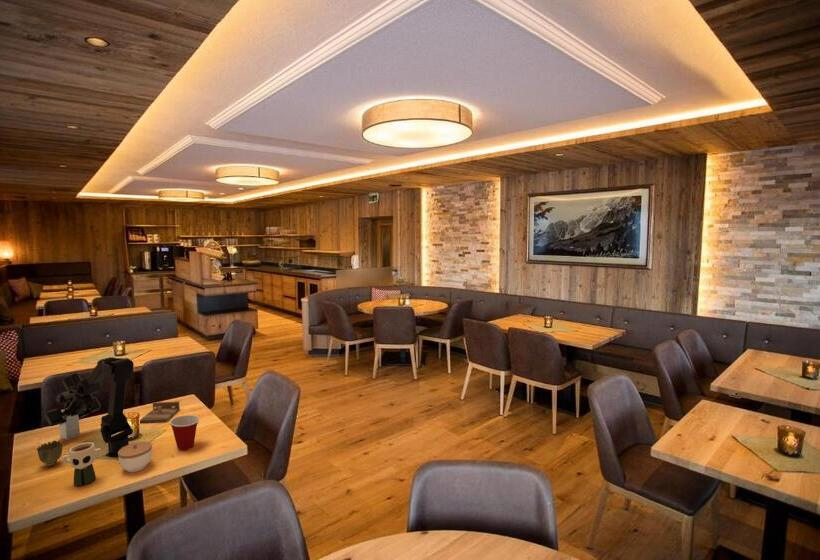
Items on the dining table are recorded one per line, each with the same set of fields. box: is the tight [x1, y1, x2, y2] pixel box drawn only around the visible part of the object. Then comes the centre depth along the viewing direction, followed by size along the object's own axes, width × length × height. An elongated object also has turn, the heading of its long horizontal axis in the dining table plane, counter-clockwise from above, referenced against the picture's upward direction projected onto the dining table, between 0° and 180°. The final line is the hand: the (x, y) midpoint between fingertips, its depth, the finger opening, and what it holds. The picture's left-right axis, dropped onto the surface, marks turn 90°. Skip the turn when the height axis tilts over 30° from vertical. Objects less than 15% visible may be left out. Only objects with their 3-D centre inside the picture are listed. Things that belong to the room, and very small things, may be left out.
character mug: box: [62, 441, 103, 486], centre depth 148 cm, size 11×7×13 cm, turn 119°
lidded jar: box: [118, 441, 153, 473], centre depth 157 cm, size 11×11×9 cm
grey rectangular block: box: [58, 408, 81, 441], centre depth 182 cm, size 5×5×12 cm
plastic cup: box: [169, 414, 200, 451], centre depth 172 cm, size 11×11×12 cm
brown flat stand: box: [140, 401, 181, 425], centre depth 202 cm, size 14×12×5 cm
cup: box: [36, 440, 63, 468], centre depth 160 cm, size 8×7×8 cm
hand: (67, 421), depth 183 cm, fingers open, 5 cm apart
